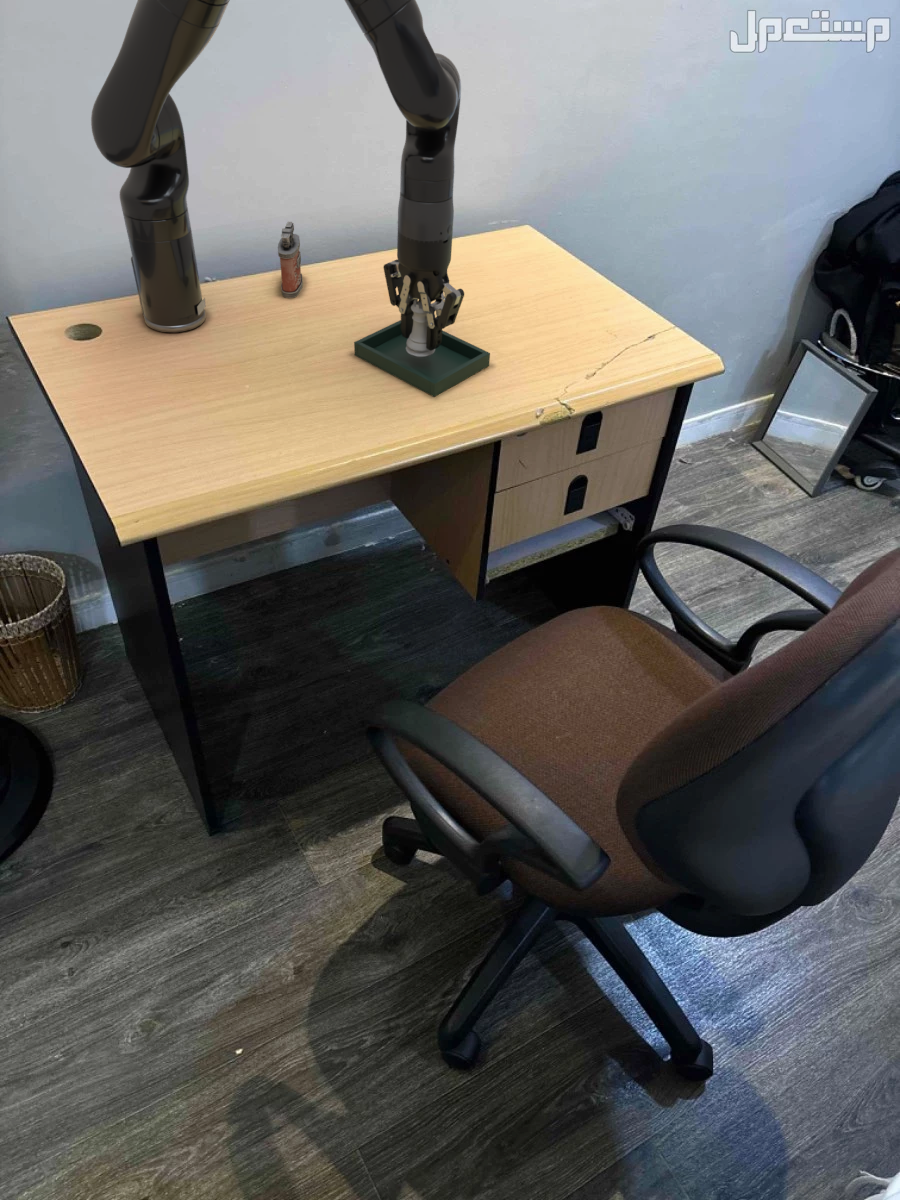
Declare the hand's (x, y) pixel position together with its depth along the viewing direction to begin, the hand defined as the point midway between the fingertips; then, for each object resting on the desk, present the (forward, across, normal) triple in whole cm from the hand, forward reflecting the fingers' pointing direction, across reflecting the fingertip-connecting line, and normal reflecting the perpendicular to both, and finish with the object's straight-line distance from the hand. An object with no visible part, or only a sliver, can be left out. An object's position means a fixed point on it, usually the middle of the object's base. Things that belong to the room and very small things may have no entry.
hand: (420, 341), depth 131 cm
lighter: (+4, -33, +3) cm, 33 cm away
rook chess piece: (+2, 0, 0) cm, 2 cm away
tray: (+4, -1, +1) cm, 4 cm away
